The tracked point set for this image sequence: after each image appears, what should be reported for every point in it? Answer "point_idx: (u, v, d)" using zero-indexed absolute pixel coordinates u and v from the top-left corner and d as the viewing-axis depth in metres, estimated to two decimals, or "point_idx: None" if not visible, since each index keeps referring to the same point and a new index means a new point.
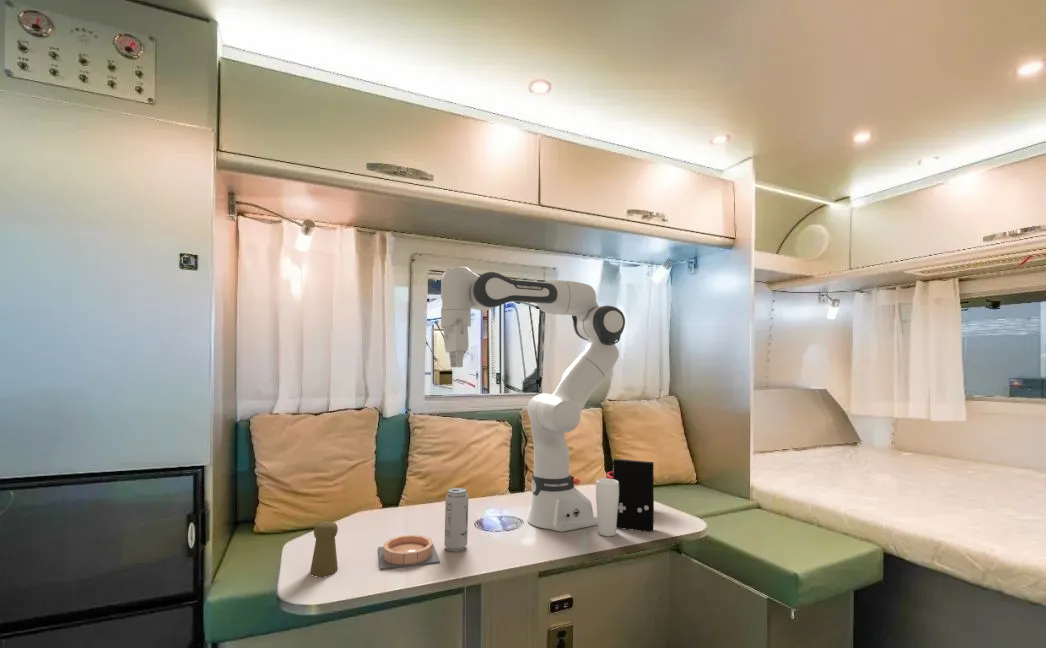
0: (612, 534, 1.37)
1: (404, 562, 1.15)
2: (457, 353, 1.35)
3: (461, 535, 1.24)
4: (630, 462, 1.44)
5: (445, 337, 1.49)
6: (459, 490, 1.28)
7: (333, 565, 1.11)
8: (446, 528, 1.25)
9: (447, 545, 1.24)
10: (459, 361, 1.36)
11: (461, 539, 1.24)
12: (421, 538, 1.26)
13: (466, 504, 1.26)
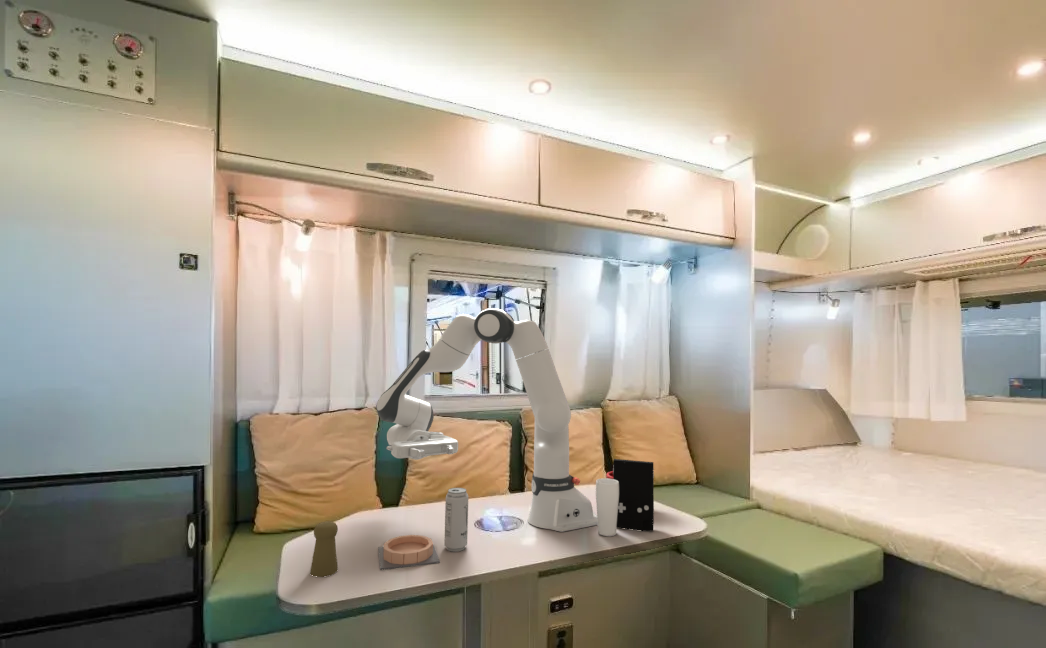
0: (612, 534, 1.37)
1: (404, 562, 1.15)
2: (410, 454, 1.37)
3: (461, 535, 1.24)
4: (630, 462, 1.44)
5: None
6: (459, 490, 1.28)
7: (333, 565, 1.11)
8: (446, 528, 1.25)
9: (447, 545, 1.24)
10: (417, 453, 1.36)
11: (461, 539, 1.24)
12: (421, 538, 1.26)
13: (466, 504, 1.26)
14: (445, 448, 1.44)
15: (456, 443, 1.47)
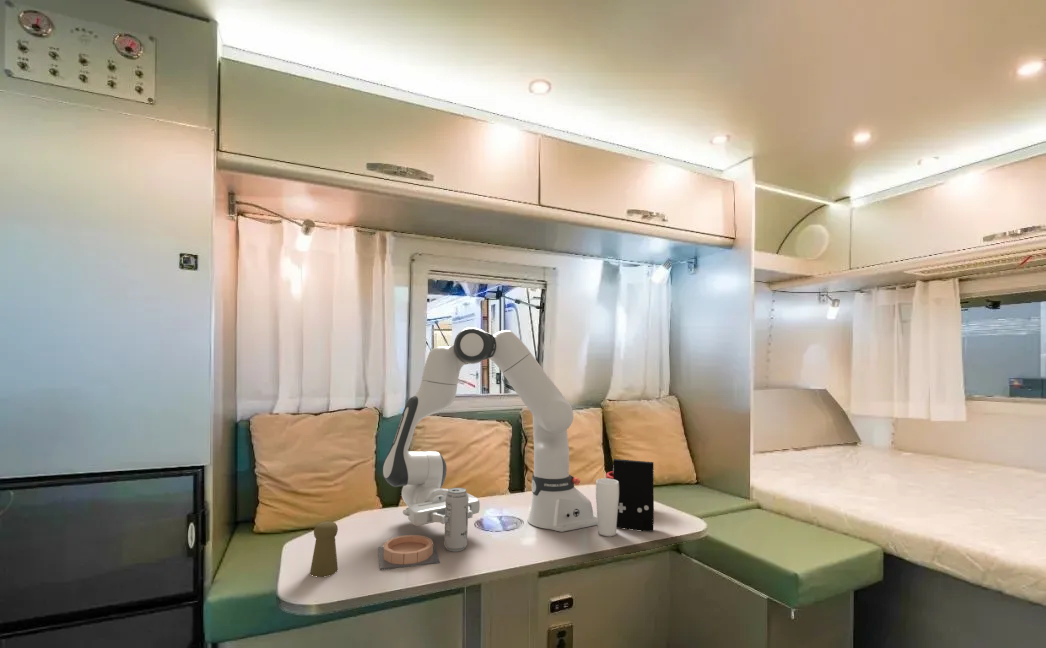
0: (612, 534, 1.37)
1: (404, 562, 1.15)
2: (432, 520, 1.26)
3: (461, 535, 1.24)
4: (630, 462, 1.44)
5: None
6: (459, 490, 1.28)
7: (333, 565, 1.11)
8: (446, 528, 1.25)
9: (447, 545, 1.24)
10: (439, 519, 1.25)
11: (461, 539, 1.24)
12: (421, 538, 1.26)
13: (466, 504, 1.26)
14: None
15: (477, 502, 1.36)
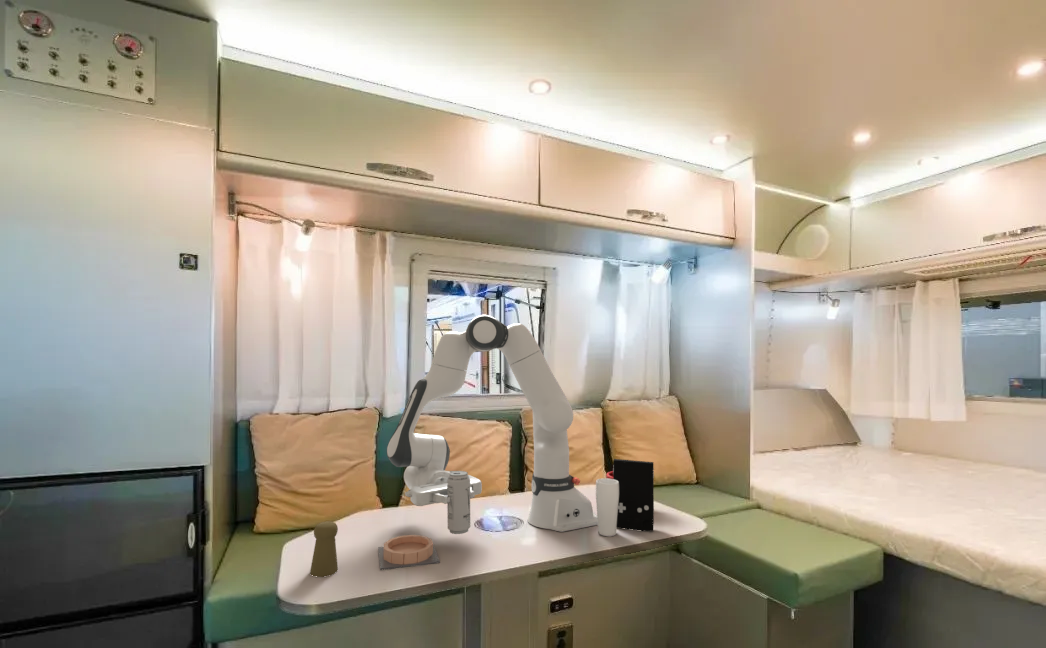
0: (612, 534, 1.37)
1: (404, 562, 1.15)
2: (435, 500, 1.27)
3: (463, 518, 1.25)
4: (630, 462, 1.44)
5: None
6: (460, 473, 1.28)
7: (333, 565, 1.11)
8: (448, 511, 1.26)
9: (450, 528, 1.25)
10: (442, 499, 1.26)
11: (464, 521, 1.25)
12: (421, 538, 1.26)
13: (468, 486, 1.27)
14: None
15: (479, 483, 1.36)
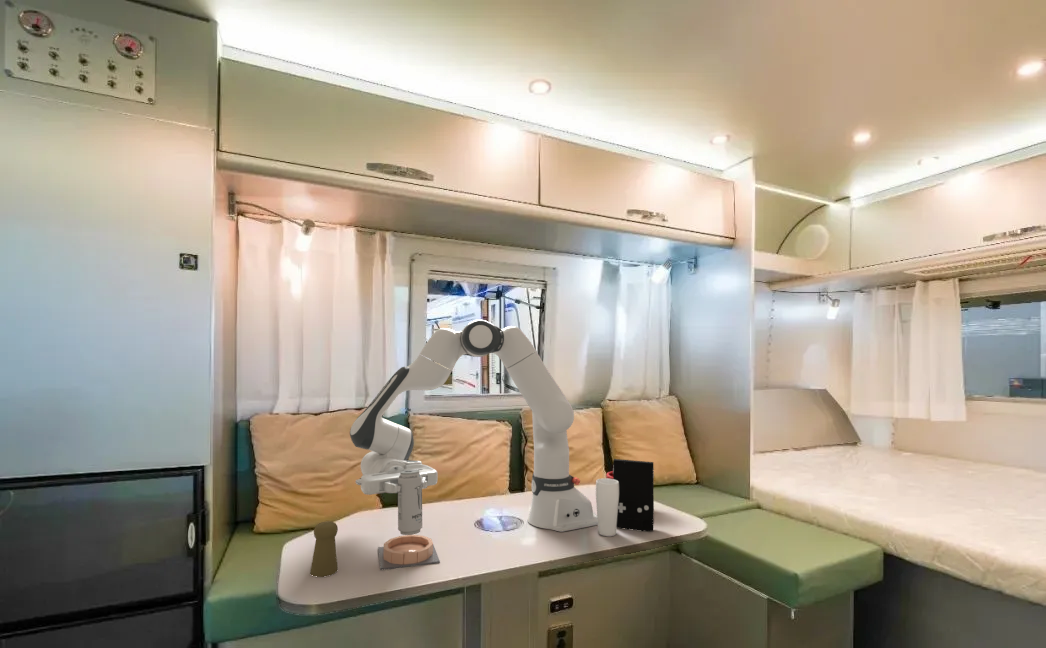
0: (612, 534, 1.37)
1: (404, 562, 1.15)
2: (385, 489, 1.22)
3: (412, 518, 1.19)
4: (630, 462, 1.44)
5: None
6: (412, 471, 1.23)
7: (333, 565, 1.11)
8: (398, 510, 1.21)
9: (399, 528, 1.20)
10: (392, 488, 1.21)
11: (413, 521, 1.19)
12: (421, 538, 1.26)
13: (418, 485, 1.21)
14: None
15: (435, 474, 1.31)
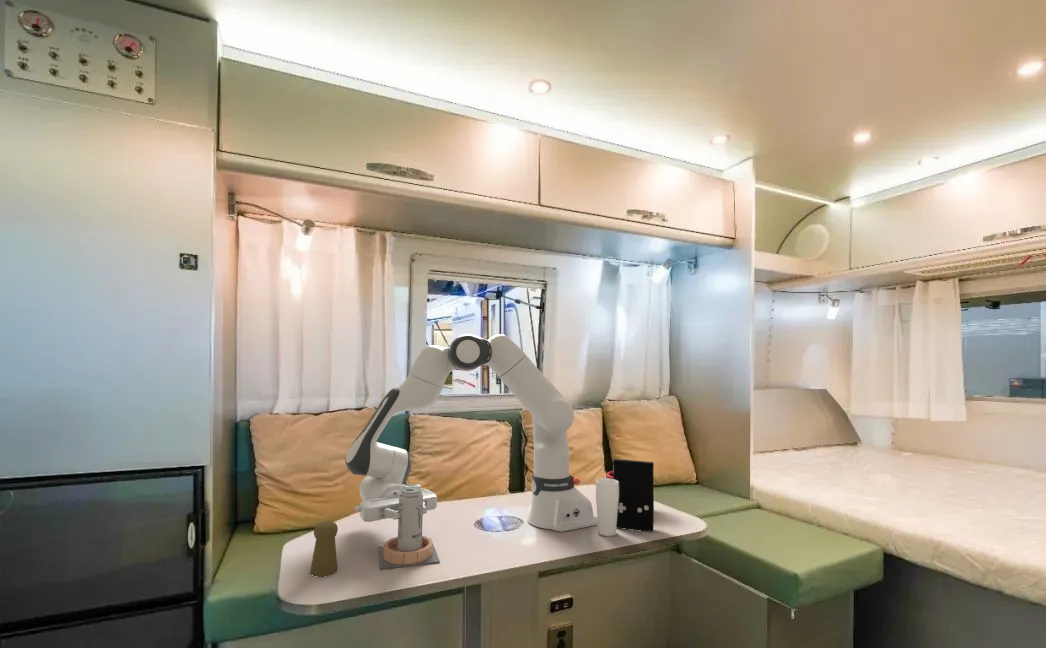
0: (612, 534, 1.37)
1: (404, 562, 1.15)
2: (384, 516, 1.21)
3: (412, 538, 1.19)
4: (630, 462, 1.44)
5: None
6: (413, 490, 1.22)
7: (333, 565, 1.11)
8: (398, 529, 1.20)
9: (398, 547, 1.19)
10: (392, 515, 1.20)
11: (412, 541, 1.19)
12: None
13: (419, 505, 1.20)
14: None
15: (434, 498, 1.30)
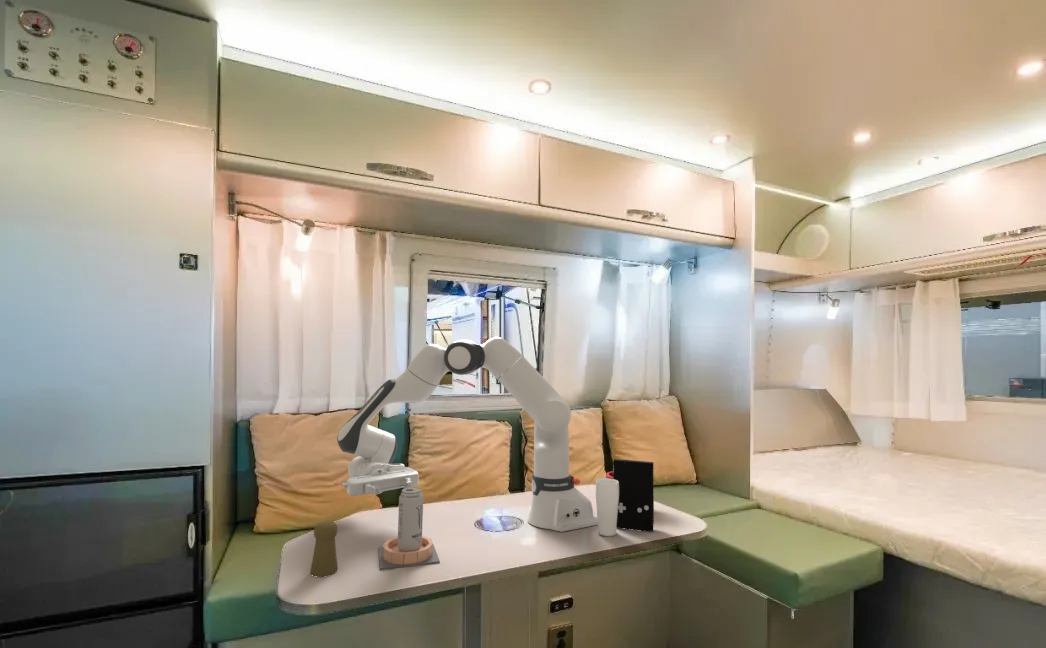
0: (612, 534, 1.37)
1: (404, 562, 1.15)
2: (365, 491, 1.31)
3: (412, 538, 1.19)
4: (630, 462, 1.44)
5: None
6: (413, 490, 1.22)
7: (333, 565, 1.11)
8: (398, 529, 1.20)
9: (398, 547, 1.19)
10: (371, 490, 1.30)
11: (412, 541, 1.19)
12: None
13: (419, 505, 1.20)
14: (404, 481, 1.39)
15: (416, 475, 1.41)
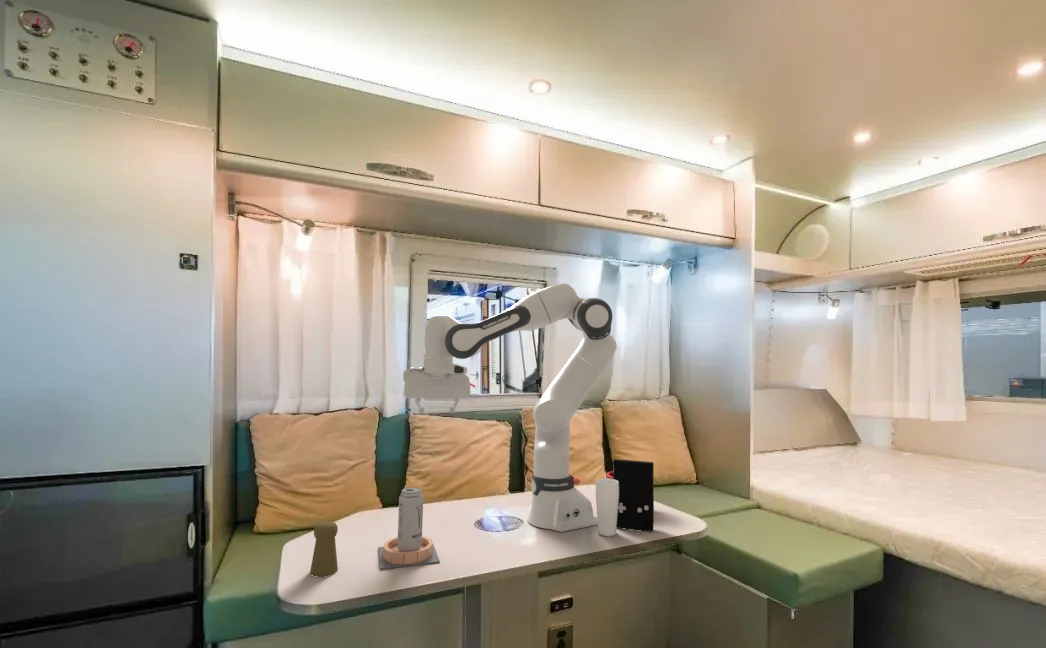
0: (612, 534, 1.37)
1: (404, 562, 1.15)
2: None
3: (412, 538, 1.19)
4: (630, 462, 1.44)
5: None
6: (413, 490, 1.22)
7: (333, 565, 1.11)
8: (398, 529, 1.20)
9: (398, 547, 1.19)
10: None
11: (412, 541, 1.19)
12: None
13: (419, 505, 1.20)
14: (453, 397, 1.49)
15: (466, 397, 1.49)
